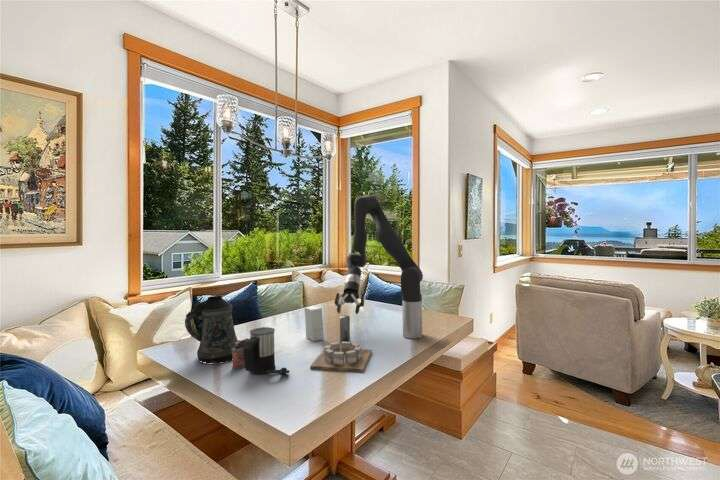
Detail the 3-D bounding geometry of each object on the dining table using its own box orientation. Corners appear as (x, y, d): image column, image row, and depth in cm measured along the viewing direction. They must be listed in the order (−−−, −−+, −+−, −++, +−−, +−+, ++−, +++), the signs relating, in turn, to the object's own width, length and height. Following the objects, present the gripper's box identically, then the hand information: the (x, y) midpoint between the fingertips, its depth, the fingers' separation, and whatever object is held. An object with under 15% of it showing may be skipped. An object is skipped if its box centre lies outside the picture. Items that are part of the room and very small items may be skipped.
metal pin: (351, 341, 158) (350, 315, 157) (348, 344, 153) (348, 318, 153) (341, 340, 159) (340, 315, 158) (338, 344, 154) (338, 317, 154)
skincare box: (324, 339, 161) (323, 308, 161) (312, 341, 158) (311, 309, 157) (316, 335, 168) (315, 305, 168) (304, 337, 165) (304, 306, 164)
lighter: (236, 370, 126) (235, 343, 126) (230, 368, 128) (229, 342, 128) (253, 363, 133) (252, 337, 133) (247, 361, 135) (246, 336, 135)
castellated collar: (371, 352, 142) (371, 340, 142) (363, 372, 123) (362, 358, 123) (325, 350, 146) (325, 338, 146) (310, 369, 127) (309, 355, 126)
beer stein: (248, 353, 143) (247, 294, 143) (207, 370, 127) (205, 303, 126) (223, 347, 152) (221, 291, 151) (181, 362, 135) (179, 299, 134)
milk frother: (255, 364, 132) (254, 326, 131) (295, 364, 131) (294, 326, 131) (241, 381, 117) (239, 338, 117) (286, 381, 117) (285, 338, 116)
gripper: (337, 280, 171) (331, 308, 160) (365, 280, 169) (361, 309, 158) (340, 289, 177) (334, 316, 166) (367, 289, 174) (363, 317, 163)
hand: (347, 312), depth 162 cm, fingers open, 8 cm apart
